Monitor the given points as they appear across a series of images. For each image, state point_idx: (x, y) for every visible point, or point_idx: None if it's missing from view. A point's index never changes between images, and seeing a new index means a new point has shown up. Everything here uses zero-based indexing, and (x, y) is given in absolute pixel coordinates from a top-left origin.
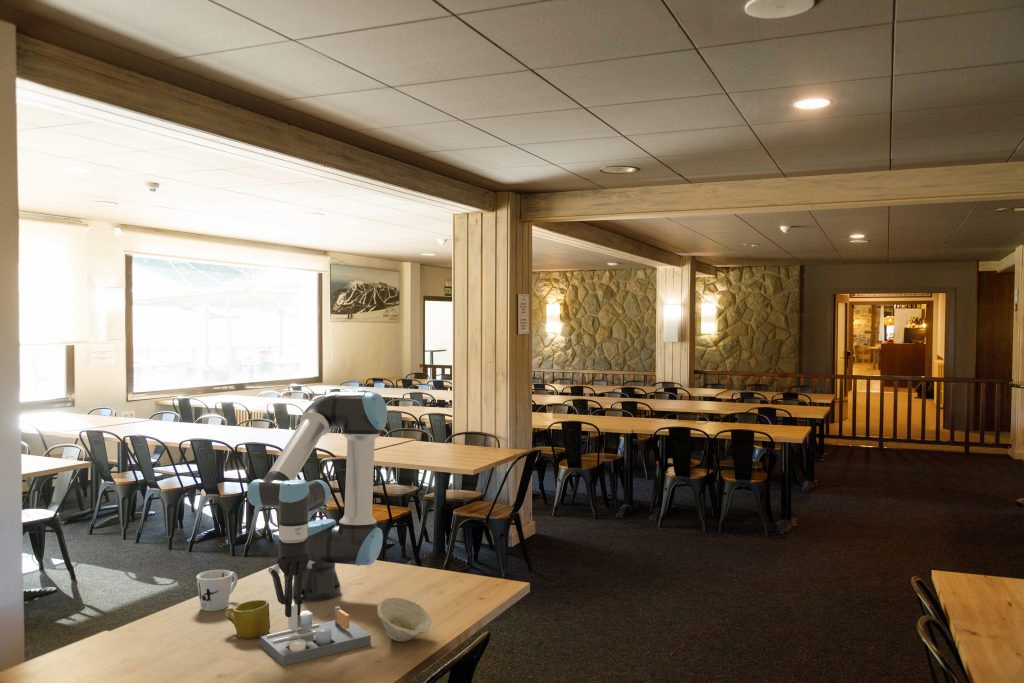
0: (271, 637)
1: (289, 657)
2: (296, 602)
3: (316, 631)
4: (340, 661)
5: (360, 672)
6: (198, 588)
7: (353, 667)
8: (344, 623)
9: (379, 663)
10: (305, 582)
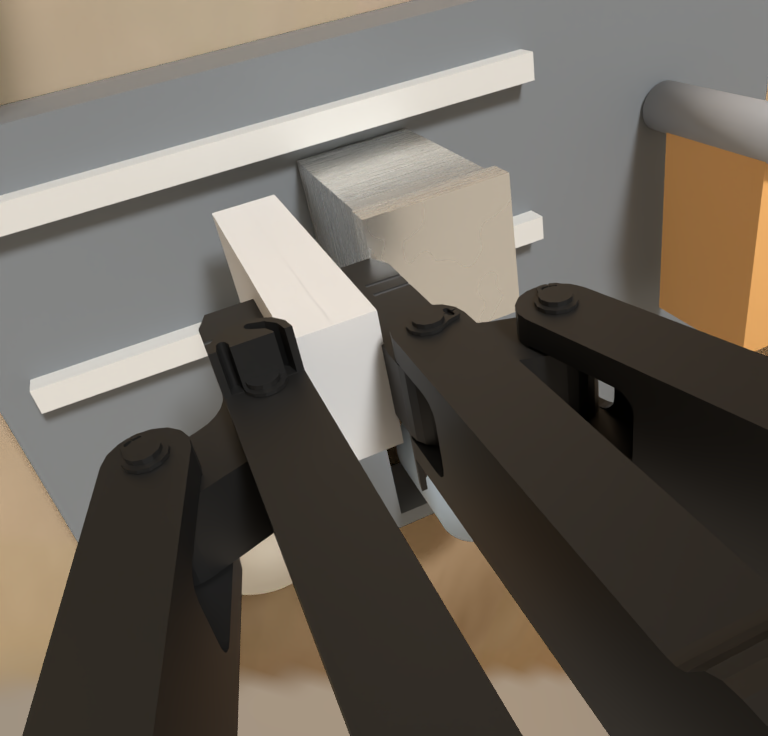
0: (8, 241)
1: None
2: (405, 423)
3: (440, 510)
4: (469, 548)
5: (508, 659)
6: None
7: (500, 614)
8: (687, 297)
9: None
10: (761, 523)
